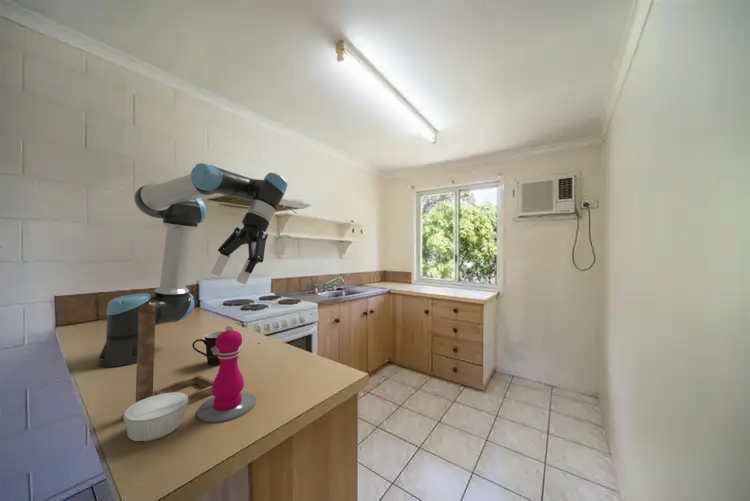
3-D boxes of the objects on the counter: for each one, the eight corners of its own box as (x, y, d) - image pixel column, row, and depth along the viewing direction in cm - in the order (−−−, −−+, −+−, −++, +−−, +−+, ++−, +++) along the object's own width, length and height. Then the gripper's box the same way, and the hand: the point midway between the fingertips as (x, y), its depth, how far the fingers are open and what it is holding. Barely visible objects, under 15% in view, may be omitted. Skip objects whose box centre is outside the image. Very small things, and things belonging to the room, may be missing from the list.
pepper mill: (209, 415, 63) (212, 329, 64) (212, 400, 70) (214, 323, 70) (244, 407, 67) (245, 326, 67) (243, 394, 73) (244, 320, 74)
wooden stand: (198, 381, 82) (200, 295, 83) (219, 391, 76) (222, 298, 77) (121, 409, 67) (125, 303, 67) (141, 424, 61) (144, 307, 62)
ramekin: (153, 449, 53) (154, 422, 53) (107, 442, 55) (108, 416, 55) (199, 417, 64) (200, 394, 64) (159, 411, 66) (160, 390, 66)
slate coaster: (205, 397, 72) (206, 395, 72) (258, 391, 76) (258, 388, 76) (188, 426, 60) (188, 424, 60) (252, 416, 64) (252, 414, 64)
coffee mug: (236, 358, 101) (237, 331, 101) (221, 367, 92) (222, 338, 93) (207, 357, 102) (208, 330, 102) (189, 366, 94) (190, 337, 94)
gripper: (292, 226, 84) (263, 290, 78) (245, 220, 97) (216, 275, 91) (275, 213, 78) (241, 282, 72) (226, 209, 91) (194, 267, 85)
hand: (227, 278), depth 81 cm, fingers open, 13 cm apart
